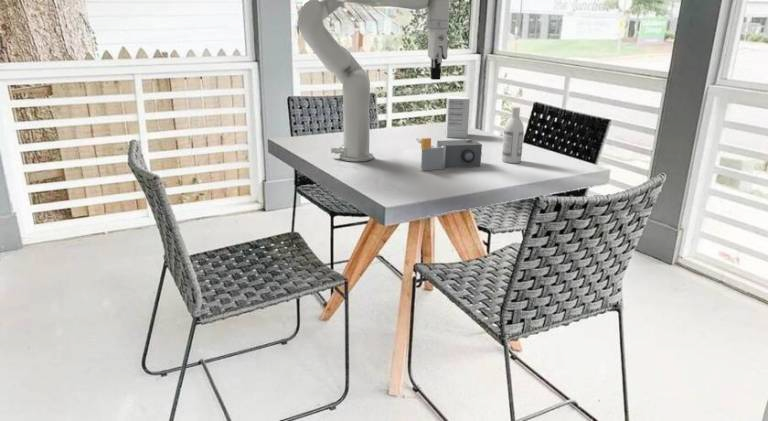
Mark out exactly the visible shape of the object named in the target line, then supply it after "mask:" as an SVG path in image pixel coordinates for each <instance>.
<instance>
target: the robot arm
mask: <svg viewBox="0 0 768 421" xmlns="http://www.w3.org/2000/svg"><path fill="white" fill-rule="evenodd" d="M450 2H451V0H304V1H302V3H301V6H300V8H299V11H298V16H297V24H298V30H299V33H300V34H301V37H302V38H303V40H304V41H305V42H306V44H307V45H308V46H309V48H310V49H311V50H312V51H313V53H314V55H316V56H317V58H318V59H319V60H320V62H322V64H323V65H324V67H325V69H326V70H327V71H329V73H331V74H333V75H334V76H335V78H336V79H337V80H338V81H339V82H340V84H342V111H343V112H342V117H343V118H342V119H343V144H341V146H339V147H331V148H330V153H332V154H335V155H336V154H339V155H338V156H339V159H341V160H342V161H347V162H355V163H359V162H360V163H361V162H369V161H371V160H373V159H374V154H373V153H372V152H370V99H371V82H370V78H369V75H368V73H367V72H366V71H365V70H364V69H363V67H362V66H361V65H360V63H358V61H357V60H356V58H355V57H354V56H353V55H352V54H351V52H350V51H349V50H348V49H347V48H346V47H345V46H343V45H340V43H339V42H338V41H337V40H336V39H335V38H334V37H333V35H332V33H330V31H329V30H328V28H326V26H325V24H324V20H325V19H326V18H327V17H330V15H331V14H333V13H334V12H335V11H337V10H338V9H339V8H340V7H342V6H343V5H345V3H347V4H348V3H349V4H357V5H364V6H365V5H366V6H369V7H370V6H372V7H391V8H401V9H408V10H413V11H414V10H415V11H419V10H425V9H426V10H427V12H426V13H427V14H426V30H427V31H428V38H427V39H428V41H427V57H428V58H430V67H431V68H430V79H431V80H433V81H434V80H441V74H442V71H441V70H442V63H443V60H447V59H448V31H449V27H450V26H449V23H450V22H449V19H450Z"/></svg>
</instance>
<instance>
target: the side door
mask: <svg viewBox="0 0 768 421" xmlns="http://www.w3.org/2000/svg"><path fill="white" fill-rule="evenodd" d="M421 140H422V143H420V144H421V145H420V146H421V147H420V148H421V163H420V164H421V167H420V168H421V169H420V170H421V172H424V171H432V170H433V171H434V170H445V169H446V168H445V154H446V146H442V147H437V146H435V147H436V148H431V146H432V138H431V137H425V138H424V137H422V138H421Z"/></svg>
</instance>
